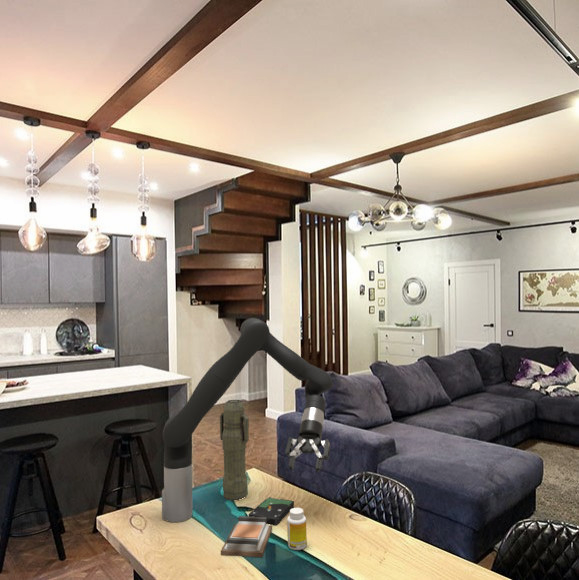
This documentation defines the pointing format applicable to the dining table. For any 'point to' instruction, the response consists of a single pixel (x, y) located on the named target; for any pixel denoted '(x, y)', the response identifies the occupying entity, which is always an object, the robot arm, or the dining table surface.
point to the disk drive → (273, 510)
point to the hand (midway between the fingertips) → (304, 470)
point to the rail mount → (248, 537)
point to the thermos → (234, 449)
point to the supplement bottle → (296, 529)
